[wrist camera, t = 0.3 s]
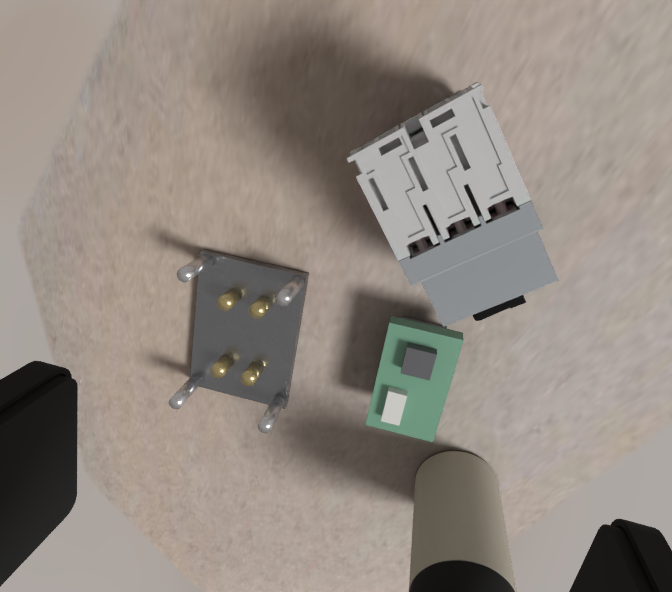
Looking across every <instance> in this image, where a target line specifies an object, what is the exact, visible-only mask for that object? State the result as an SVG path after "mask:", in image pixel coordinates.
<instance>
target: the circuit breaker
mask: <svg viewBox="0 0 672 592" xmlns="http://www.w3.org/2000/svg"><path fill="white" fill-rule="evenodd" d="M482 90H484V88H483V86H482V84H480V85H479V84H478V82H476V83H474V84H472V85H470V86H469V87H468V88H466V89H464V90H462V91H460V92H458V93H457V94H455V95H453V96H451V97H449V98H446V99H445V100H443V101H441V102H439V103H437V104H436V105H434V106H432V107H430V108H428V109H426V110H425V111H423V112H421V113H419V114H417V115H416V116H414V117H412V118H410V119H408V120H407V121H405V122H403V123H401V124H399V125H397V126H396V127H394V128H392V129H390V130H388V131H387V132H385V133H383V134H381V135H379V136H378V137H376V138H375V139H373V140H371V141H370V142H368V143H366V144H364V145H362V146H361V147H359V148H356V149H354V150H352V151H350V155H351V156H349V157H347V160H348V162H349V163H350V162H351V161H354V163H355V165H356V167H357V169H358V171H359V173H360V174H359V175H358V176H356V178H357V180H358V182H359V184H360V186H361V188H362V190H363V192H364V194H365V196H366V198H367V200H368V202H369V204H370V206H371V208H372V210H373V212H374V214H375V216H376V218H377V220H378V222H379V224H380V226H381V228H382V230H383V232H384V234H385V236H386V238H387V240H388V242H389V244H390V246H391V248H392V250H393V252H394V254H395V255H396V257H397V259H398V261H399V263H400V265H401V267H402V269H403V271H404V273H405V275H406V277H407V279H408V281H409V283H410V285H411V286H414V285H416V284H418V283H420V282H421V283H422V285H423V287H424V289H425V291H426V293H427V295H428V297H429V299H430V301H431V303H432V305H433V307H434V309H435V311H436V313H437V315H438V317H439V319H440V321H441V323H442V325H443V327H444V326H446V325H449V324H451V323H454V322H456V321H459V320H461V319H464V318H466V317H469V316H471V315H473V317H474V319H475V320H476V321H479V320H482V319H485V318H487V317H489V316H491V315H494V314H496V313H498V312H501V311H503V310H505V309H508V308H513V307H516V306H518V305H521V304H523V303H526V301H525V298H524V296H523V295H524V294H526V293H529V292H531V291H534V290H536V289H539V288H541V287H544V286H546V285H548V284H551V283H553V282H556V281H558V278H557V275H556V273H555V271H554V268H553V266H552V264H551V261H550V259H549V257H548V254H547V252H546V250H545V247H544V245H543V243H542V240H541V238H540V236H539V233H538V231H539V230H542V229H543V227H542V224H541V222H540V220H539V217H538V215H537V213H536V210H535V208H534V206H533V203H532V201H531V198H530V196H529V194H528V191H527V189H526V187H525V184H524V182H523V180H522V177H521V175H520V173H519V170H518V168H517V166H516V163H515V161H514V159H513V156H512V154H511V152H510V149H509V147H508V145H507V142H506V140H505V138H504V135H503V133H502V131H501V128H500V126H499V124H498V121H497V119H496V116H495V114H494V112H493V109H492V107H491V105H489V106H488V105H487V103H486V101H485V98H484V96H483V94H482Z"/></svg>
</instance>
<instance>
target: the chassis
mask: <svg viewBox="0 0 672 592" xmlns="http://www.w3.org/2000/svg"><path fill="white" fill-rule="evenodd" d="M197 275H198V283H197V296H196V309H195V322H194V334H193V347H192V360H191V373H190V378H189V380H188V381H187V382H186V383H185V384H184V385H183V386H182V387H181V388H180V389H179V390H178V391H177V392H176V393H175V394H174V395H173V397H172V398H171V399H170V400H169V405H170V406H171V407H172V408H173V409H179V408H180V407H181V406H182V405H183V404H184V403H185V402H186V400H187V399H188V398H189V397H190V396H191V395H192V394H193V392H194V391H195V390H196V389H197V388H198V387H203V388H207V389H211V390H215V391H218V392H222V393H226V394H230V395H234V396H237V397H241V398H245V399H249V400H253V401H257V402H260V403H264V404H268V405H269V407H268V409H267V411H266V412H265V414H264V416H263V417H262V419H261V421H260V423H259V424H258V429H259V430H260V431H261V432H262V433H268V432H270V430H271V428H272V427H273V425H274V423H275V421H276V419H277V417H278V415H279V413H280V411H281V409H282V408H283V409H285V408H286V406H287V404H288V398H289V392H290V386H291V380H292V374H293V368H294V361H295V355H296V349H297V343H298V337H299V331H300V325H301V319H302V313H303V306H304V300H305V294H306V288H307V282H308V276H309V273H306V272H302V271H298V270H293V269H289V268H285V267H280V266H276V265H272V264H267V263H263V262H259V261H254V260H250V259H246V258H241V257H237V256H232V255H228V254H224V253H219V252H215V251H211V250H206V249H204V250H202V251H201V252H200V257H199V258H197V259H196V260H194V261H192V262H191V263H189V264H187V265H186V266H184V267H182V268H181V269H179V270H178V271H177V277H178V279H179V280H180V281H182V282H188V281H189V280H191V279H192V278H194V277H195V276H197Z"/></svg>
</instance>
